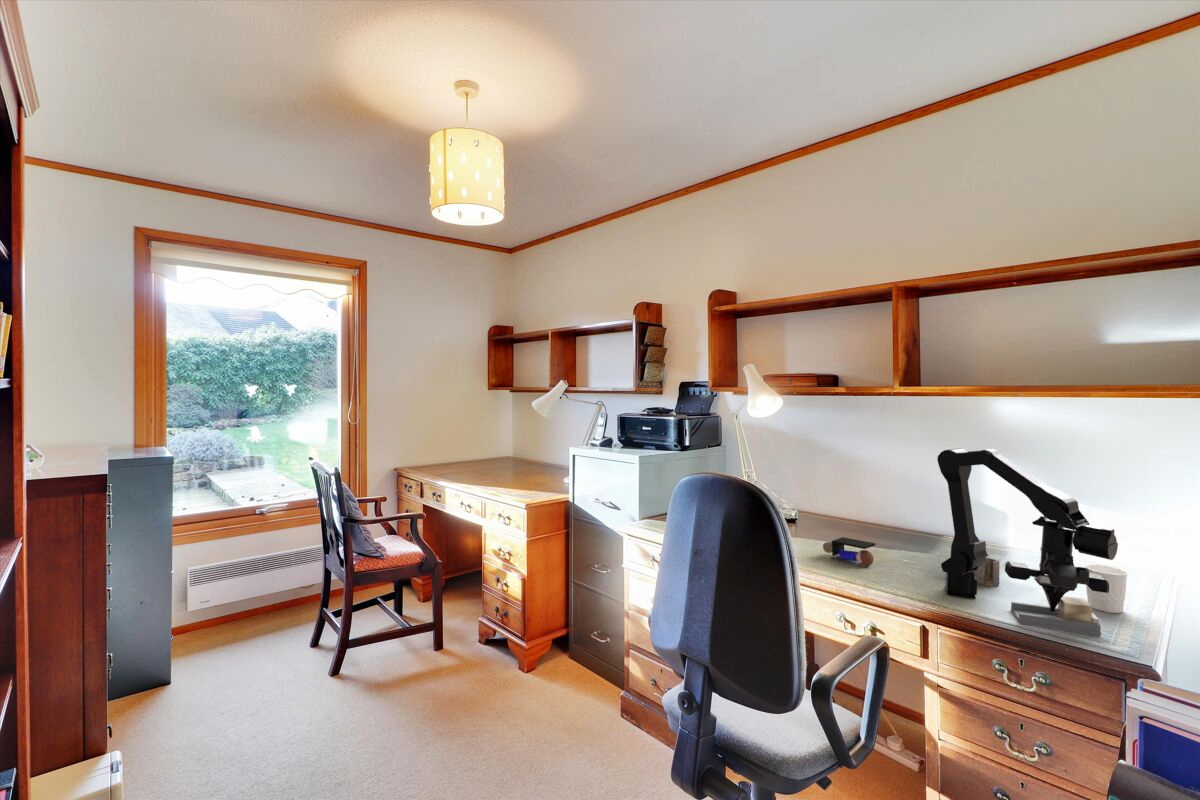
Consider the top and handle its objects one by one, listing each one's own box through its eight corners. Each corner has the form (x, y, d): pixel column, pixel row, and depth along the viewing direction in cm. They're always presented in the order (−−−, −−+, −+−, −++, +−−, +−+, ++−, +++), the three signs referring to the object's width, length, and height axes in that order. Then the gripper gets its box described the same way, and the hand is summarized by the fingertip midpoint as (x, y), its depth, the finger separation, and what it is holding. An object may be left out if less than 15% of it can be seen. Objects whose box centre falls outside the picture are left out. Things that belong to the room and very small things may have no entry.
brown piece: (952, 576, 167) (952, 544, 166) (958, 575, 168) (958, 543, 168) (992, 589, 156) (993, 555, 156) (999, 587, 158) (999, 553, 157)
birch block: (1064, 624, 131) (1064, 603, 131) (1057, 615, 135) (1058, 595, 135) (1091, 627, 129) (1092, 606, 128) (1083, 619, 133) (1084, 598, 133)
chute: (1020, 623, 133) (1020, 610, 133) (1010, 610, 141) (1011, 597, 141) (1100, 635, 126) (1101, 621, 126) (1086, 620, 134) (1086, 606, 134)
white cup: (1105, 601, 146) (1106, 564, 146) (1135, 614, 138) (1136, 574, 138) (1076, 602, 146) (1077, 564, 145) (1104, 614, 138) (1105, 574, 138)
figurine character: (822, 562, 184) (867, 569, 172) (820, 539, 184) (864, 544, 172) (834, 558, 188) (878, 565, 176) (832, 535, 188) (876, 540, 176)
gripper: (1017, 549, 130) (1012, 615, 130) (1121, 564, 122) (1116, 633, 122) (1006, 537, 140) (1002, 598, 140) (1102, 550, 132) (1097, 615, 132)
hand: (1052, 611), depth 134 cm, fingers closed
